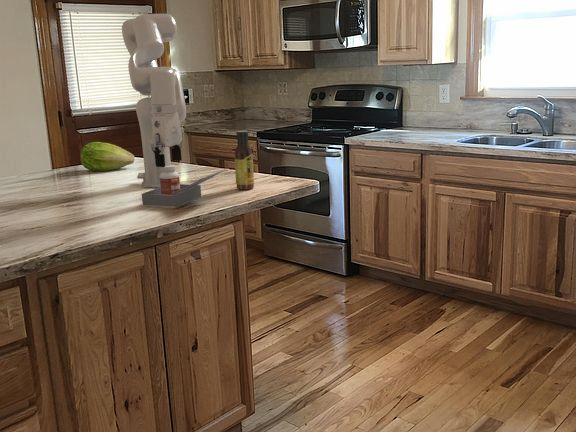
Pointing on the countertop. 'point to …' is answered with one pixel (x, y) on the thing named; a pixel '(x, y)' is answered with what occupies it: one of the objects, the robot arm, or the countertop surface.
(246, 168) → the sauce bottle
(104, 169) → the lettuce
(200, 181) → the lid
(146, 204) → the box
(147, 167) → the robot arm
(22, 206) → the countertop surface
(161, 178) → the pill bottle
